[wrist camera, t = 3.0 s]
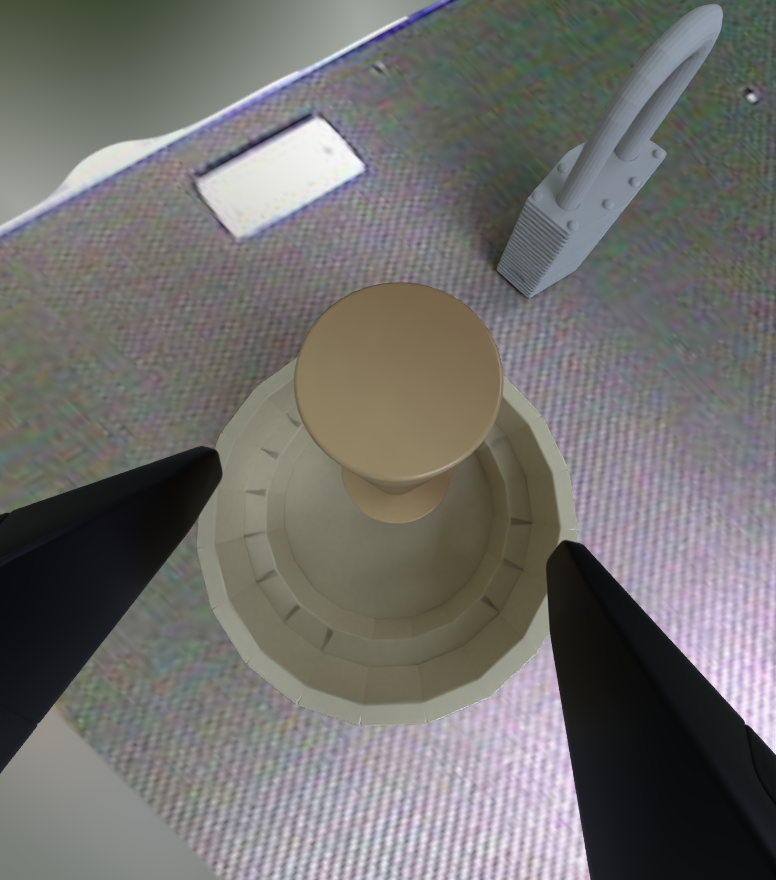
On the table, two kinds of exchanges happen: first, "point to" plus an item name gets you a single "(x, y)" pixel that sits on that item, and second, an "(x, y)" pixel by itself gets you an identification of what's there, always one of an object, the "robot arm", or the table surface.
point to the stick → (398, 394)
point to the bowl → (382, 566)
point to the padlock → (606, 160)
